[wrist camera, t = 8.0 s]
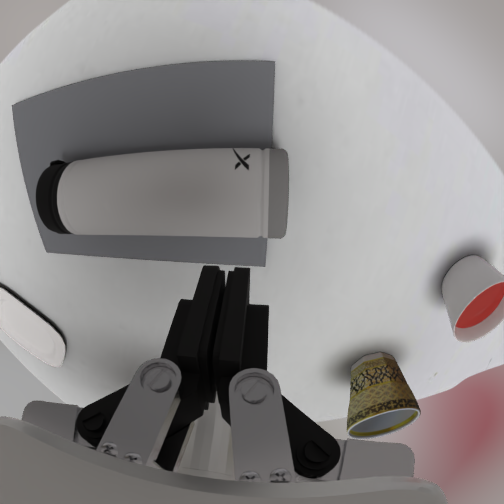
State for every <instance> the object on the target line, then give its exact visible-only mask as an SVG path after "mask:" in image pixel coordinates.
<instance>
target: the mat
mask: <svg viewBox="0 0 504 504" xmlns="http://www.w3.org/2000/svg"><path fill="white" fill-rule="evenodd" d="M274 77H275V61H209V62H193V63H182V64H172V65H163V66H156V67H149V68H142V69H136V70H131V71H125V72H120V73H115V74H110V75H106V76H101V77H97V78H93V79H89V80H85V81H82V82H78V83H74V84H71V85H68V86H64V87H61V88H58V89H55V90H52V91H49V92H46V93H43V94H40V95H37V96H35V97H32V98H29V99H27V100H24V101H22V102H19V103H17V104H14V105H12V111H13V120H14V128H15V135H16V141H17V147H18V152H19V158H20V163H21V167H22V172H23V176H24V181H25V185H26V189H27V193H28V196H29V200H30V204H31V207H32V211H33V214H34V217H35V220H36V224H37V227H38V230H39V233H40V236H41V238H42V241H43V244H44V247H45V250H46V252H48V253H60V254H73V255H86V256H100V257H114V258H128V259H143V260H158V261H174V262H190V263H207V264H224V265H243V266H262V267H265V265H266V248H267V238H263V237H262V236H259V237H258V238H245V237H205V236H152V235H76V234H58V233H56V232H53V231H51V230H49V229H47V227H46V226H45V225H44V224H43V222H42V220H41V219H40V216H39V214H38V210H37V206H36V187H37V183H38V180H39V177H40V176H41V174H42V172H43V171H44V170H45V169H46V168H48V167H49V166H50V162H51V161H55V160H61V161H64V162H65V163H69V162H74V161H77V160H84V159H90V158H97V157H105V156H113V155H122V154H131V153H142V152H154V151H167V150H185V149H211V148H259V149H261V150H262V151H263V150H264V149H266V148H269V149H272V129H273V104H274Z"/></svg>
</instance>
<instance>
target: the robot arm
mask: <svg viewBox="0 0 504 504" xmlns="http://www.w3.org/2000/svg"><path fill="white" fill-rule="evenodd" d="M249 291H250V268H239V267H235V269H234V271H229V272H228V277H227V282H226V287H225V271H223V270H220V268H219V266H206V265H204V266H203V269H202V272H201V275H200V278H199V281H198V284H197V288H196V291H195V294H194V297H193V300H186V299H181V300H180V302H179V304H178V307H177V310H176V313H175V316H174V318H173V321H172V324H171V327H170V330H169V333H168V336H167V339H166V342H165V346H164V349H163V352H162V355H161V358H157V359H151V360H149V361H146V362H145V363H144V364H142V365H141V366H140V367H139V369H138V370H137V372H136V373H135V375H134V377H133V379H132V381H131V383H130V384H129V385H127V386H125V387H123V388H121V389H119V390H117V391H116V392H114V393H112V394H110V395H108V396H106V397H104V398H102V399H100V400H98V401H96V402H94V403H92V404H90V405H88V406H86V407H85V408H79V406H78V405H69V404H60V403H52V402H45V401H32V402H30V403H28V404H27V406H26V407H25V409H24V411H23V415H22V420H19V419H16V418H11V417H0V504H448V502H447V499H446V497H445V494H444V492H443V491H442V489H441V488H440V487H439V486H438V485H437V484H435V483H433V482H430V481H427V480H424V479H419V478H414V477H413V474H414V463H415V459H414V453H413V452H412V450H411V448H409V447H408V446H407V445H404V444H401V443H387V442H374V441H364V440H355V439H347V440H340V439H335V438H334V437H332V436H331V435H330V434H329V433H328V432H326V431H325V430H324V429H322V428H321V427H320V426H319V425H317V424H316V423H315V422H314V421H312V420H311V419H310V418H309V417H308V416H306V415H305V414H304V413H303V412H302V411H300V410H299V409H298V408H297V407H296V406H294V405H293V404H292V403H291V402H290V401H288V400H287V399H286V398H285V397H284V396H283V395H281V390H280V386H279V383H278V380H277V379H276V378H275V377H274V375H272V374H271V373H269V372H268V371H267V353H268V319H269V305H253V304H249Z"/></svg>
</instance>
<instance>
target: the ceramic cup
mask: <svg viewBox="0 0 504 504" xmlns="http://www.w3.org/2000/svg"><path fill="white" fill-rule="evenodd" d="M420 414H421V411H420V408H419V406H418V403H417V401H416V399H415V397H414V395H413V393H412V391H411V389H410V387H409V386H408V384H407V382H406V380H405V378H404V376H403V374H402V372H401V370H400V368H399V366H398V364H397V362H396V361H395V359H394V357H393V356H392V355H389V354H385V353H382V352H378V353H374V354H370V355H366V356H363V357H362V358H361V359H360V360H358V361H357V362H356V363H355V364H353V365H352V367H351V388H350V403H349V408H348V419H347V435H348V436H349V437H352V438H356V439H369V438H376V437H380V436H384V435H388V434H391V433H394V432H396V431H399V430H401V429H403V428H405V427H406V426H409V425H410V424H412V423H413V422H414V421H415V420H417V419H418V417H419V416H420Z"/></svg>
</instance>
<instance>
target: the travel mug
mask: <svg viewBox="0 0 504 504" xmlns="http://www.w3.org/2000/svg"><path fill="white" fill-rule="evenodd" d="M288 199H289V163H288V154H287V152H286V151H285V150H284V149H269V148H266V149H264V150H263V151H262V150H261V149H259V148H211V149H185V150H167V151H154V152H142V153H131V154H122V155H113V156H105V157H97V158H90V159H84V160H77V161H74V162H69V163H65V162H64V161H61V160H55V161H51V162H50V166H49V167H48V168H46V169H45V170H44V171H43V172H42V174H41V176H40V177H39V180H38V183H37V187H36V206H37V210H38V214H39V216H40V219H41V220H42V222H43V224H44V225H45V226H46V227H47V229H49V230H51V231H53V232H56V233H58V234H76V235H152V236H205V237H245V238H258V237H259V236H262V237H263V238H279V239H281V238H283V237H284V236H285V234H286V228H287V217H288Z"/></svg>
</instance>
